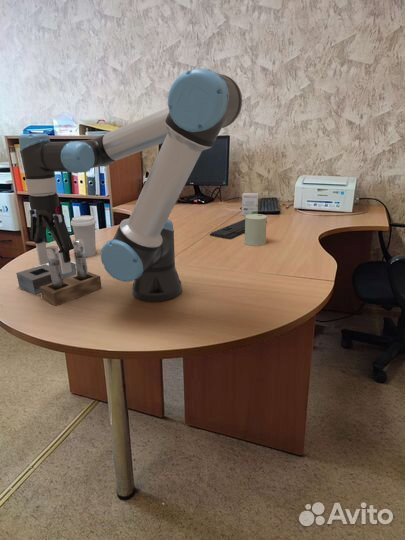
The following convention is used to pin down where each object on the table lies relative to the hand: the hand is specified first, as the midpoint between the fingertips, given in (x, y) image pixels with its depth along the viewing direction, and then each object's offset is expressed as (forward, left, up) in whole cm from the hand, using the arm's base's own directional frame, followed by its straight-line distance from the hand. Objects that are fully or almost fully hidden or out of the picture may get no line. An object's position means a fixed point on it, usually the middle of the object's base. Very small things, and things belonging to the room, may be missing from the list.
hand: (55, 268), depth 114 cm
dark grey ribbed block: (+1, -97, -10) cm, 98 cm away
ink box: (+13, -124, -10) cm, 125 cm away
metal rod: (0, 0, -10) cm, 10 cm away
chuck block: (+13, -5, -10) cm, 17 cm away
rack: (0, -4, -10) cm, 11 cm away
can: (-17, -82, -10) cm, 85 cm away
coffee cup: (+28, -29, -10) cm, 42 cm away
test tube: (0, -9, -10) cm, 13 cm away
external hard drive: (+25, -13, -10) cm, 30 cm away
